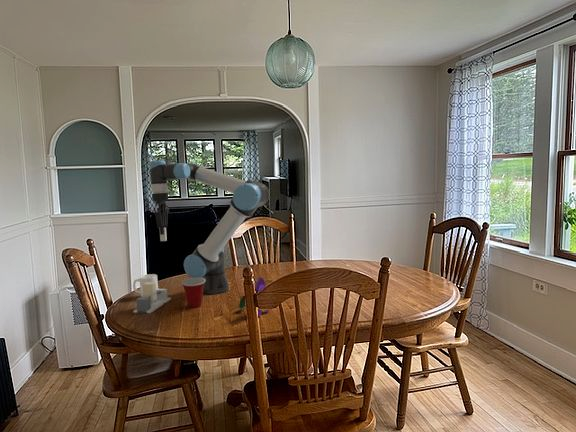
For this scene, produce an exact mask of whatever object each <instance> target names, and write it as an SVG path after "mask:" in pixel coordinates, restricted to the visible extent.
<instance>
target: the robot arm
mask: <svg viewBox="0 0 576 432" xmlns="http://www.w3.org/2000/svg"><path fill="white" fill-rule="evenodd" d="M149 174H150V188H151V193H152V194H151V201H152V202H155V207H154V208H153V213H154V216H155V222H156V229H158V230H159V237H160V238H159V239H160V240H159V241H160V242H166V241H168V240H167V239H168V238H167V228H168V226H169V225H168V214H169V212H168V211H169V206H168V205H167V203H166V201H169V193H168V192H169V190H168V187H169V186H168V181H172V180H174V181H175V180H176V181H177V180H192V181H194V182H199V183H201V184H204V185H208V186H211V187H212V188H215V189H216V188H217V189H219V190H223V191H225V192H228V193H232V199H231V200H230V202H229V205H230V206H229V208H228V209H227V211H226V213H225V214H224V215H223V216H222V217H221V219H220V220H219V222H218V223H217V225H216V226H215V227H214V229H213V230H212V232H210V234H209V236H208V237H207V239H206V240H205V241H204V243H201V244H198V246H197V247H196V248H195V250H194V251H193V252H192V254H189V255H187V256H186V257H185V259H184V261H183V268H184V271H185V273H186V275H187V276H189V278H193V277H201V278H204V279H205V280H206V281H205V283H204V289H203V294H206V295H214V294H215V295H216V294H223V293H225V292H228V291H229V290H230V283H229V281H228V278H227V276H226V263H225V250H224V249H225V246H226V245H228V243H229V240H231V238H232V237H233V235H234V234H235V233H236V232H237V230H238V229H239V228H240V226H241V225H242V224H243V222H244V221H245V220H246V218H251V217H252V215H254V213H255V212H256V210H257V209H258V208H259V207H263V206H265V205H266V204H267V202H268V201H269V199H270V191H269V188H268V187H267V185H265V184H264V183H262V182H258V181H253V180H250V179H247V180H243V179H241V178H236V177H233V176H230V175H228V174H224V173H222V172H218V171H215V170H213V169H209V168H205V167H204V166H200V165H199V164H196V163H185V162H184V163H183V162H179V163H169V164H167V162H166V161H165V160H163V159H162V160H151V161H150V162H149Z"/></svg>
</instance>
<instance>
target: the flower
mask: <svg viewBox="0 0 576 432" xmlns="http://www.w3.org/2000/svg"><path fill="white" fill-rule="evenodd" d="M254 286H255V291H256V293H258V292H260V291H261V290H262V289H264V288H265V287H266V288H267V285H266V283H265V279H264V278H263V277H258V279H257V281H256V282H255V283H254ZM246 306H247V305H245V296H244V294H243V296H242V297H241V299H240V300H239V304H238V308H239V309H240V310H241V311H242V310H244V311H245V309H244V308H245V307H246ZM268 311H269V312H270V309H269V310H265V312H267V313H268ZM262 312H263V310H260V309H258V316H260V315H261V316H262Z"/></svg>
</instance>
